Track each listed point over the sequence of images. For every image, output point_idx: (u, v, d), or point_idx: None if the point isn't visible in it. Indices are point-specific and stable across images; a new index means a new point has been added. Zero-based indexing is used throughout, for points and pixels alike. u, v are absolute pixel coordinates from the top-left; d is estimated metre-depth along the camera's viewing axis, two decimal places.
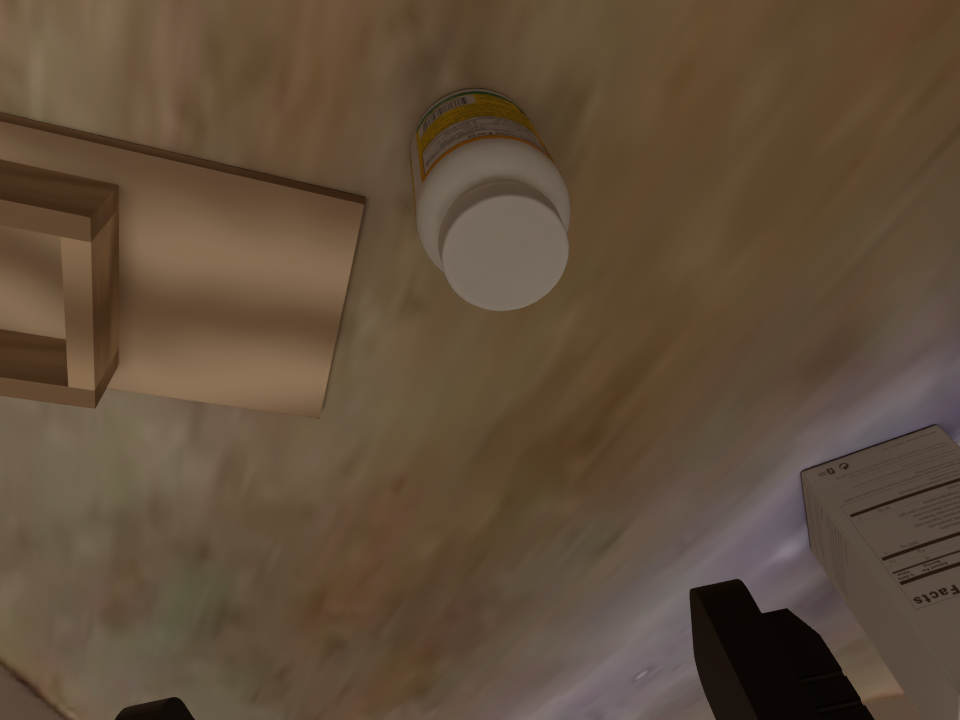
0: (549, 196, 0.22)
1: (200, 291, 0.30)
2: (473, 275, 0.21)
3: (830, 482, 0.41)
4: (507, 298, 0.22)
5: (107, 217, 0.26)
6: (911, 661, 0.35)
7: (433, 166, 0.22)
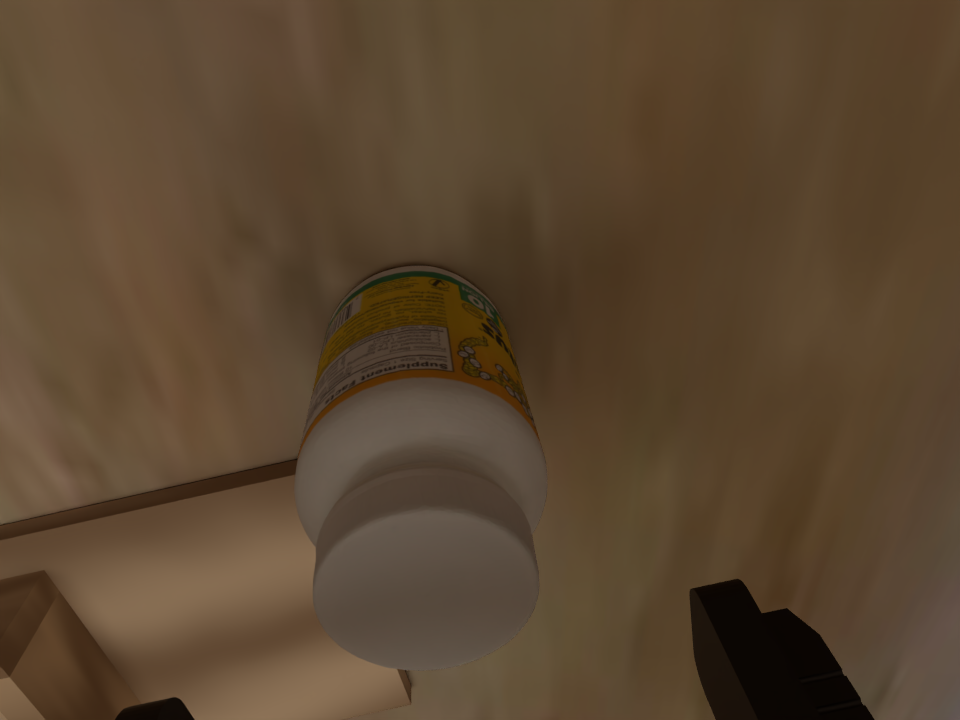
0: (474, 446, 0.13)
1: (196, 633, 0.24)
2: (395, 639, 0.12)
3: None
4: (471, 643, 0.12)
5: (36, 621, 0.21)
6: None
7: None
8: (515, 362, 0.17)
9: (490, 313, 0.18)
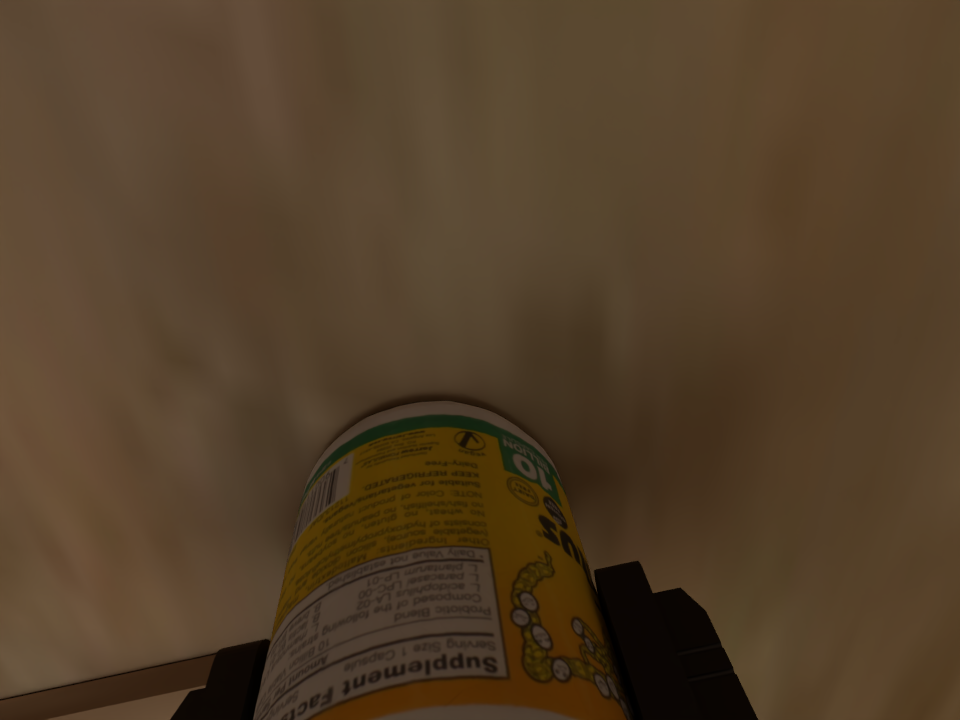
0: None
1: None
2: None
3: None
4: None
5: None
6: None
7: None
8: (587, 566, 0.11)
9: (546, 481, 0.12)
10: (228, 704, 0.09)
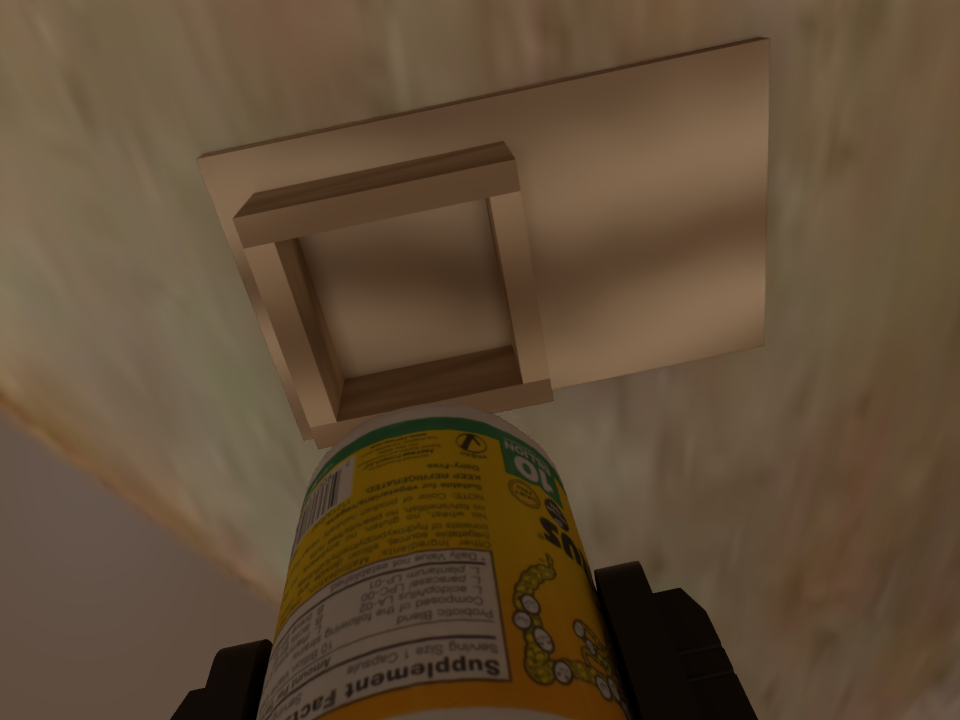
0: None
1: (607, 234, 0.26)
2: None
3: None
4: None
5: None
6: None
7: None
8: (589, 568, 0.11)
9: (547, 483, 0.12)
10: (228, 704, 0.09)
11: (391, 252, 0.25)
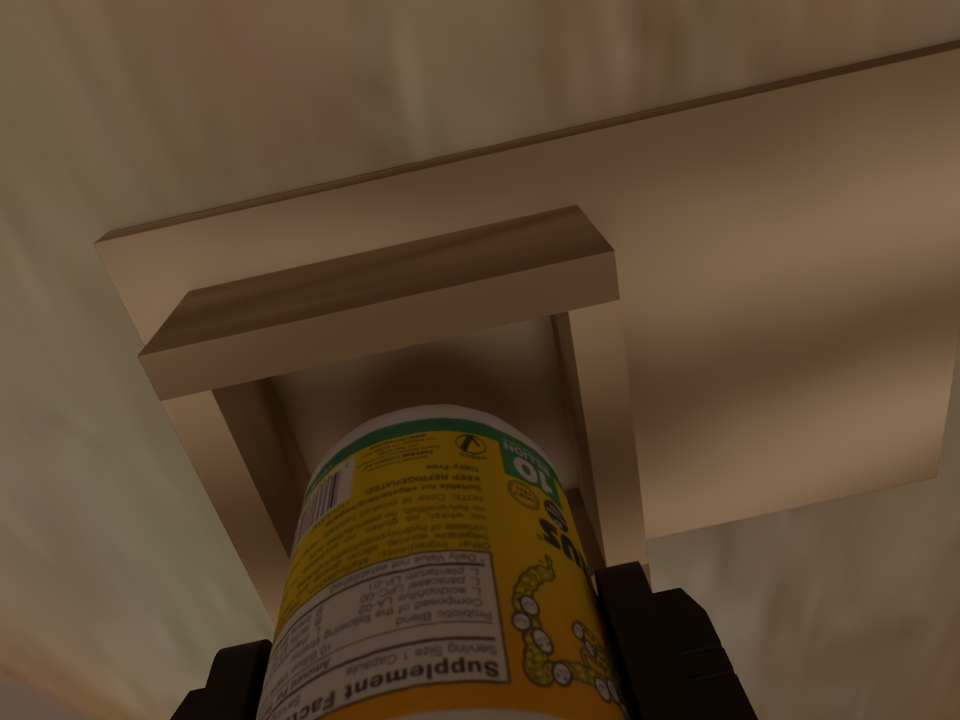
0: None
1: (726, 336, 0.17)
2: None
3: None
4: None
5: None
6: None
7: None
8: (588, 569, 0.11)
9: (547, 484, 0.12)
10: (228, 704, 0.09)
11: (403, 369, 0.17)
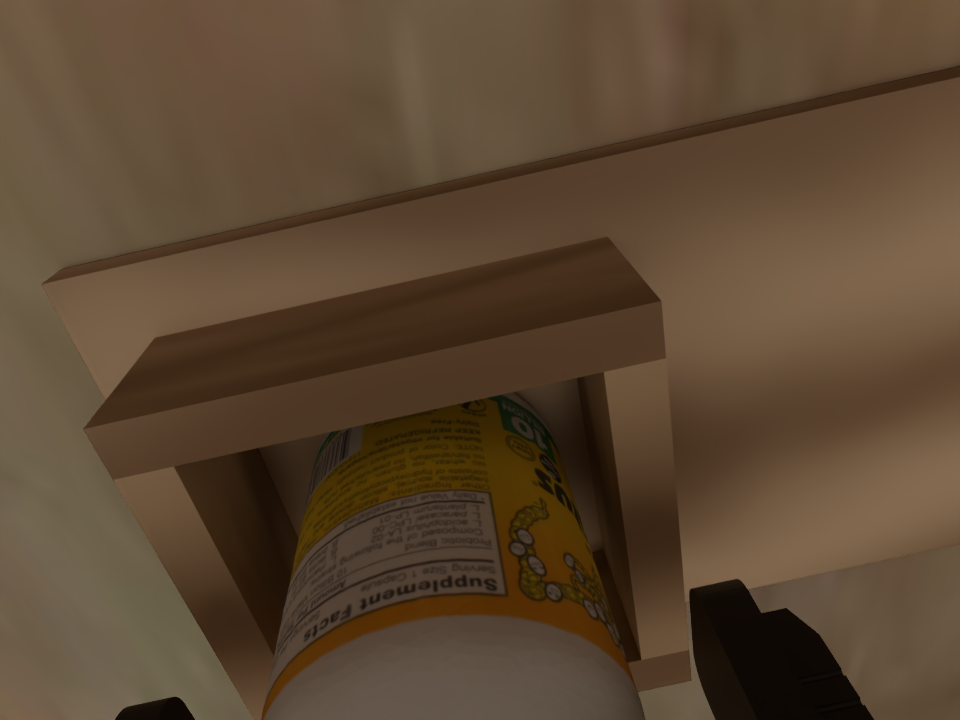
0: None
1: (775, 383, 0.15)
2: None
3: None
4: None
5: None
6: None
7: None
8: (580, 518, 0.12)
9: (542, 441, 0.13)
10: None
11: None
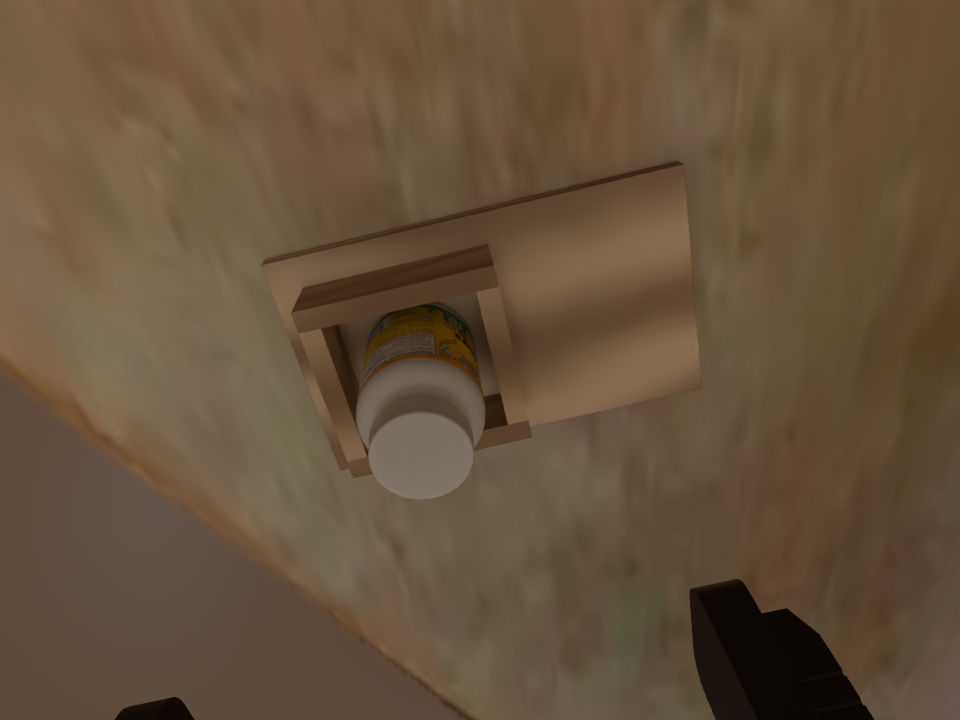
0: (444, 390, 0.26)
1: (570, 308, 0.33)
2: (406, 480, 0.26)
3: None
4: (443, 484, 0.26)
5: None
6: None
7: None
8: (474, 354, 0.31)
9: (461, 327, 0.31)
10: None
11: None
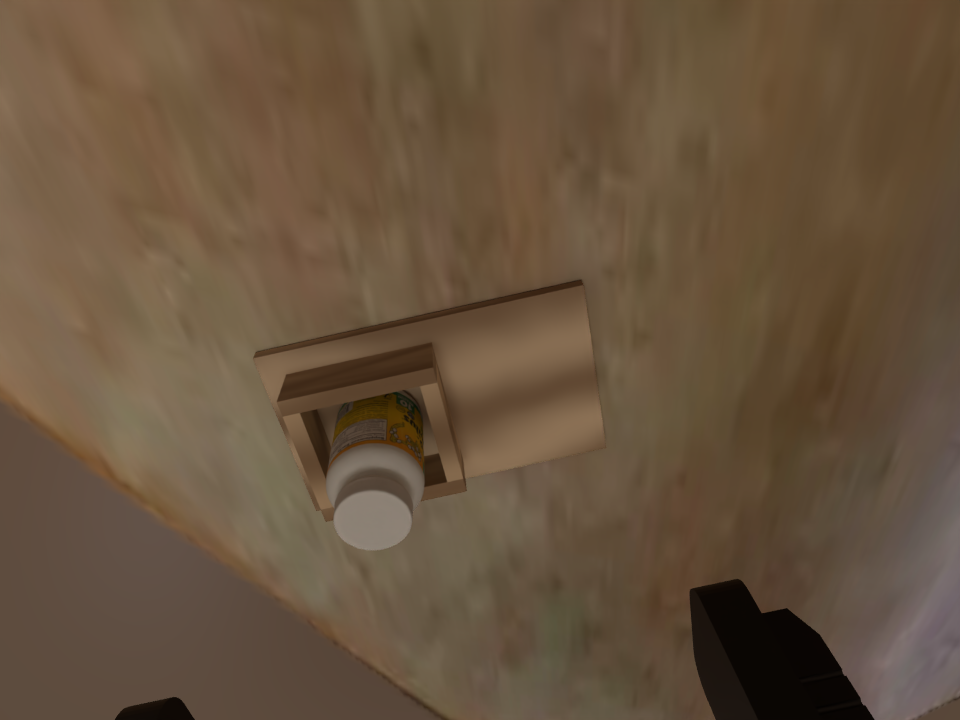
0: (391, 468, 0.35)
1: (498, 389, 0.42)
2: (362, 537, 0.35)
3: None
4: (389, 539, 0.35)
5: (435, 364, 0.39)
6: None
7: None
8: (419, 430, 0.40)
9: (410, 408, 0.40)
10: None
11: None
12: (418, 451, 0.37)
